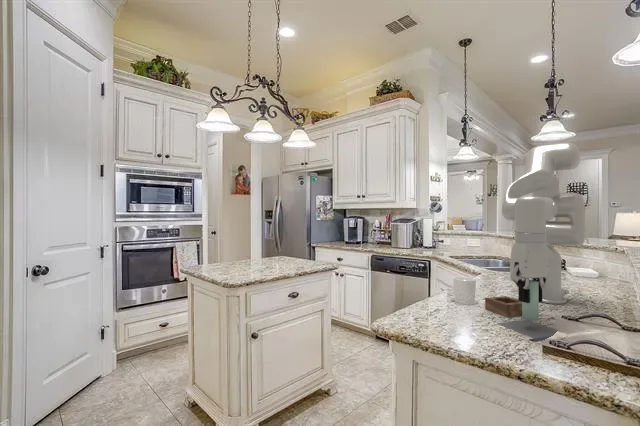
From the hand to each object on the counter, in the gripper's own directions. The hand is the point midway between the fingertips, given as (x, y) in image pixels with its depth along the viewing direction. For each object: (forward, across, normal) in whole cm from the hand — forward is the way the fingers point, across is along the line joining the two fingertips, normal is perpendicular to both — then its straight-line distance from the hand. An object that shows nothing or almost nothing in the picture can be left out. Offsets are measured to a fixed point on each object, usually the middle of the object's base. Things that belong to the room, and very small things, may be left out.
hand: (530, 300), depth 92 cm
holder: (+9, -6, -14) cm, 18 cm away
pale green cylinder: (+5, 0, 0) cm, 5 cm away
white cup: (+9, -1, -28) cm, 30 cm away
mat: (+9, 0, 0) cm, 9 cm away
